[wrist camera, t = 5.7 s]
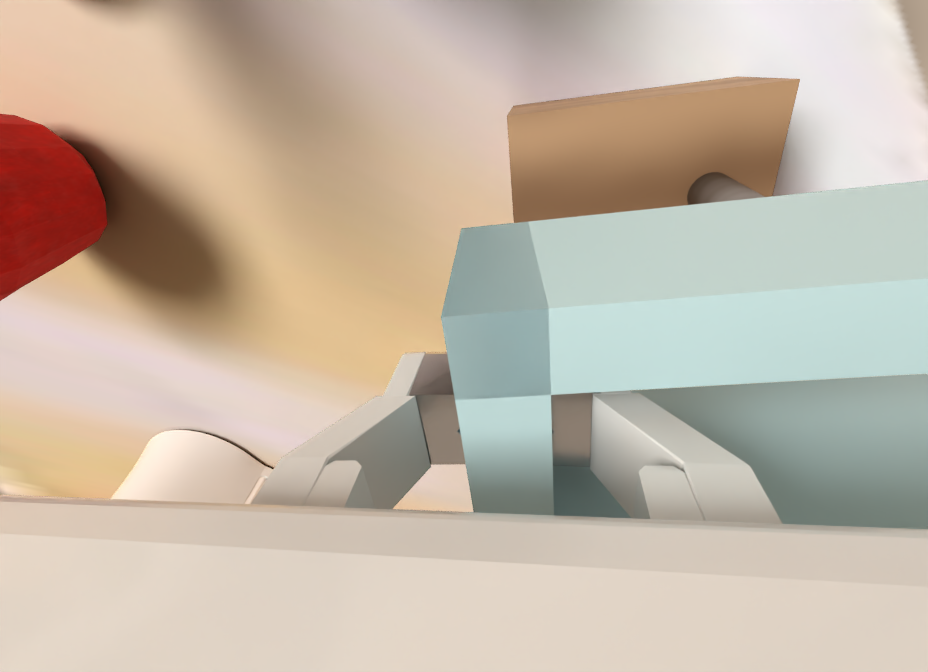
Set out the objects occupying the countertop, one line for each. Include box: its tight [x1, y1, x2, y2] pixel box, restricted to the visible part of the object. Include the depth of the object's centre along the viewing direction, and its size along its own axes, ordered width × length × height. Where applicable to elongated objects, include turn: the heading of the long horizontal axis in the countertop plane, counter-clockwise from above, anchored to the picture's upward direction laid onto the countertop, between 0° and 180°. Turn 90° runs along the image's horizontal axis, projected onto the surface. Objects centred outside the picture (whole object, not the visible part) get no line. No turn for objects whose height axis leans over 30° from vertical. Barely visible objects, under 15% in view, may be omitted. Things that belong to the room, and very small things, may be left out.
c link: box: [441, 180, 928, 529], centre depth 8 cm, size 11×6×4 cm, turn 97°
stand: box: [507, 77, 800, 223], centre depth 18 cm, size 8×11×15 cm
